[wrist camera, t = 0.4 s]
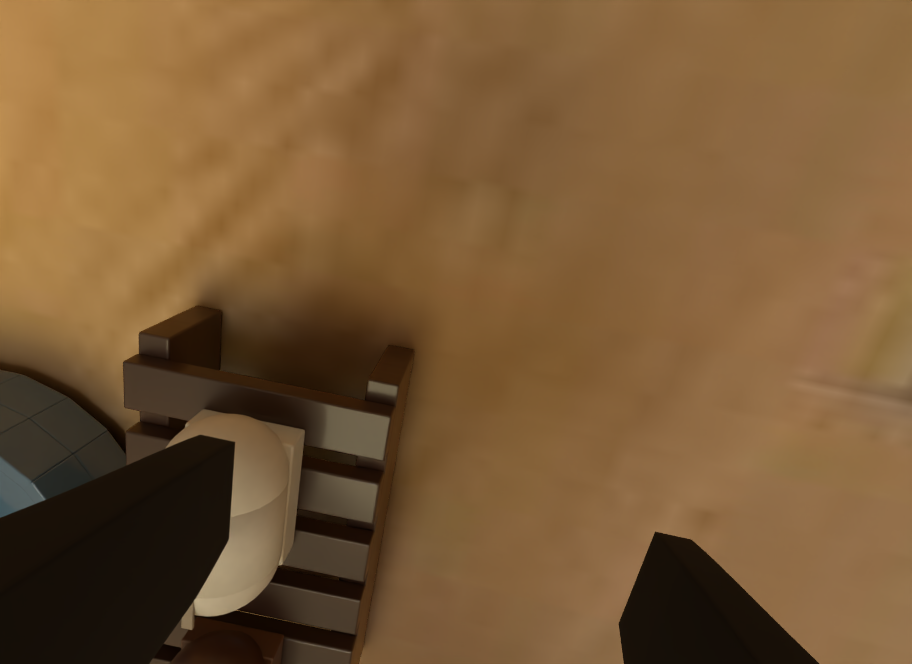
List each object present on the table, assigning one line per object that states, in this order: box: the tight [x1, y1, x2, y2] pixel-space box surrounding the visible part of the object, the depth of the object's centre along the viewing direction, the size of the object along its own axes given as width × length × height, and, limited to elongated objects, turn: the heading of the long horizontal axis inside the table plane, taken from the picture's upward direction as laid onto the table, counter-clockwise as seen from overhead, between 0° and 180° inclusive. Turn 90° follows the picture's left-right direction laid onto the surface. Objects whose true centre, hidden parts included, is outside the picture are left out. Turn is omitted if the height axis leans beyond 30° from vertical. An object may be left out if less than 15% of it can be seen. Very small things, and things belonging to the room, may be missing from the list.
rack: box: [123, 306, 415, 664], centre depth 19 cm, size 15×8×4 cm, turn 169°
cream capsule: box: [166, 409, 305, 630], centre depth 14 cm, size 6×3×3 cm, turn 169°
